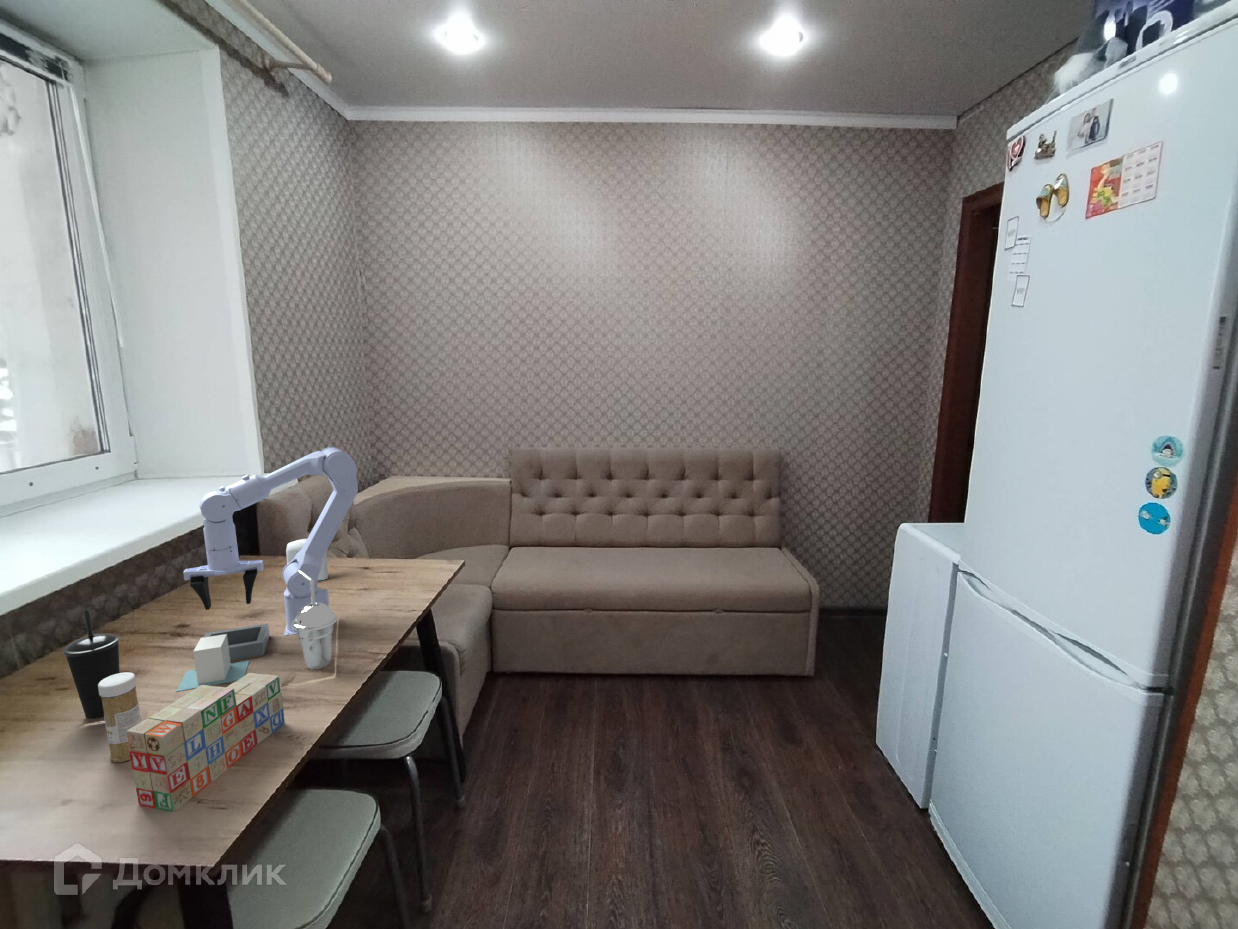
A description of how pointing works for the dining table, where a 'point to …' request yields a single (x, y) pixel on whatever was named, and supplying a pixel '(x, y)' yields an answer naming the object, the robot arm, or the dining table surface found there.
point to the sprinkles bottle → (119, 712)
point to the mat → (233, 674)
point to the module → (212, 659)
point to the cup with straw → (315, 630)
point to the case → (245, 641)
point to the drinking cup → (92, 666)
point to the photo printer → (296, 547)
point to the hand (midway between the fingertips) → (228, 605)
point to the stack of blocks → (201, 738)
